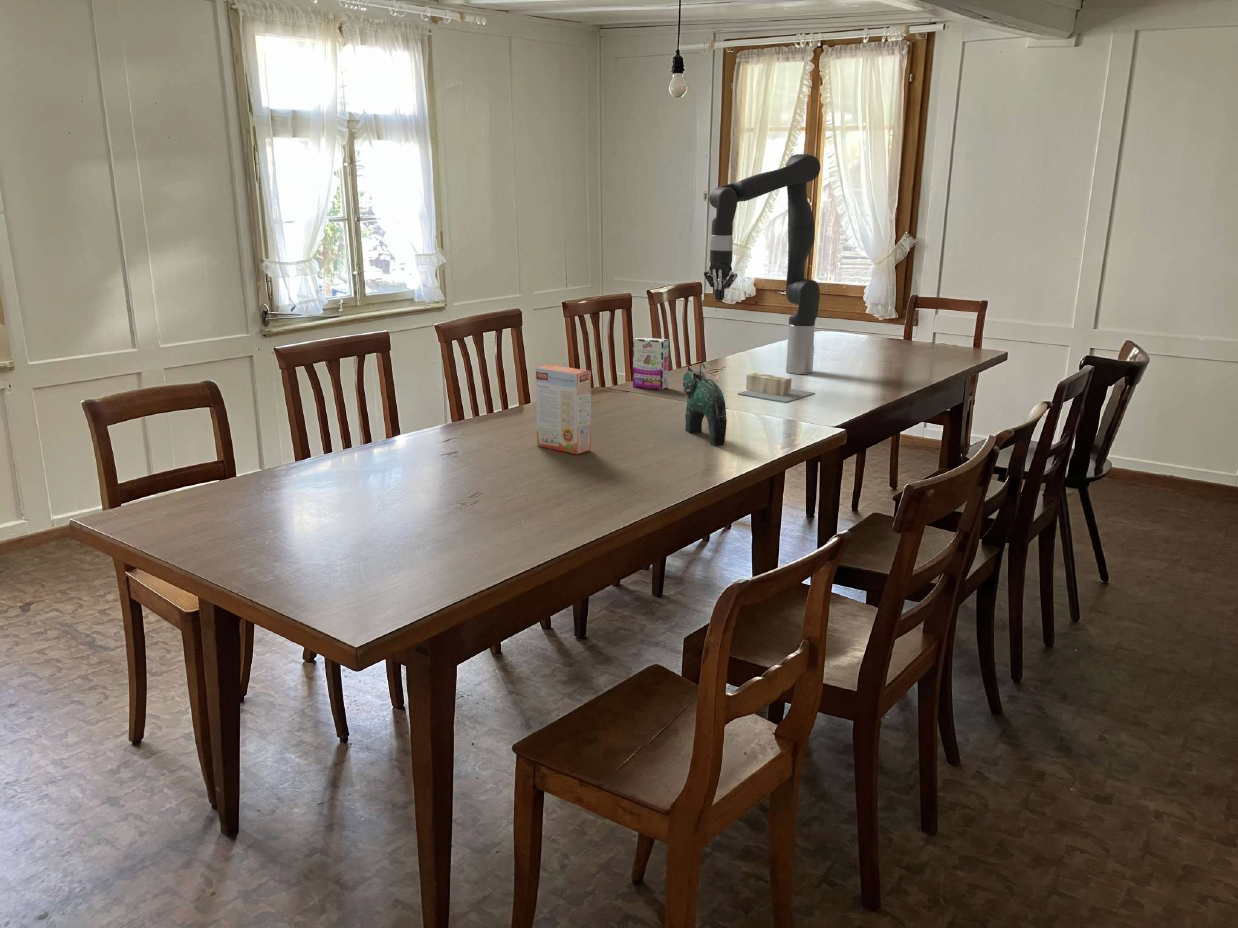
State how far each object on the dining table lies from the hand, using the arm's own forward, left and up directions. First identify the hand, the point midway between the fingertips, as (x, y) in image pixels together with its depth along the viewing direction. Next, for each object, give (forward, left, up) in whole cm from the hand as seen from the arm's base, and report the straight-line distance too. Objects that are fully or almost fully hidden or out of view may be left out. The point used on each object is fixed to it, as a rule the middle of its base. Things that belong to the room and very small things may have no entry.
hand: (719, 300), depth 332 cm
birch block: (+8, +19, -24) cm, 32 cm away
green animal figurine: (+68, +45, -27) cm, 86 cm away
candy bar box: (+28, -7, -27) cm, 40 cm away
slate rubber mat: (+8, +30, -27) cm, 41 cm away
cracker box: (+102, +25, -27) cm, 108 cm away
